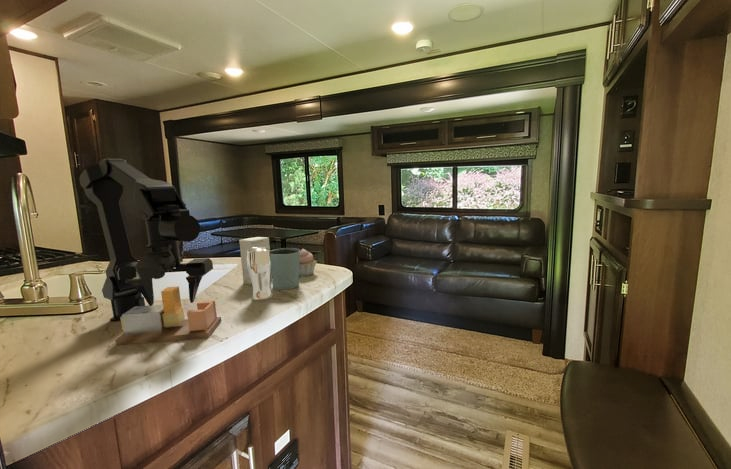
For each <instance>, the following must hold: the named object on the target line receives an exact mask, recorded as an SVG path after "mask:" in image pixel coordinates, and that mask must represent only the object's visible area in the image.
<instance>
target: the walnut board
mask: <svg viewBox="0 0 731 469" xmlns="http://www.w3.org/2000/svg"><path fill="white" fill-rule="evenodd" d="M221 323H222V317H221V316H217V319H216V321H215V322H214V323H213V324H212V326H211V327H210V328H209V329H208V330H207V331H204V330H198V331H189V324H188V318H186V319H185V321H184V322H183V323H182V324H181V325H180V326H175V327H168V328H167V329H165V330H164V331H163V332H162V333H151V334H138V335H125V332H124V333H122V334H121V335H119V337H117V338H116V339H115V340H114V341H115V345H116V346H118V345H119V346H120V345H132V344H133V345H134V344H143V343H144V344H145V343H157V342H159V343H160V342H169V341H170V340H172V341H180V340H181V341H184V340H196V339H208V338H210V336H211V335H212V334H214V332H215V330H216V329H217V328H218V327H219V325H220V324H221Z"/></svg>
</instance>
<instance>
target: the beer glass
mask: <svg viewBox="0 0 731 469" xmlns="http://www.w3.org/2000/svg"><path fill="white" fill-rule="evenodd" d="M270 251H271V247H270V248H268V247H256V248H251V249H248V250H247V266H248V271H249V275H250V279H251V282H252V285H251V286H252V297H251V299H252V300H253V301H266V300H270V299H271V298H273V297H274V294H273V290H272V287H271V286H272V285H271V284H272V280H271V270H272V262H271V255H270Z"/></svg>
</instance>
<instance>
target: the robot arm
mask: <svg viewBox="0 0 731 469" xmlns="http://www.w3.org/2000/svg"><path fill="white" fill-rule="evenodd" d="M79 184H80V186H81V188H83V191H84V193H85V196H86V197H87V198H88V200H90V202H92V203H93V204H95V205H96V207H97V212H98V215H99V219H100V223H101V228H102V231H103V235H104V239H105V243H106V247H107V251H108V255H109V258H110V261H109V263H108V265H107V267H106V269H105V275H106V278H105V281H104V284H103V287H102V289H101V293H102V295H103V296H102V297H103V298H104V299H106V300H107V299H108V300H110V304H111V310H112V315H113V316H112V317H111V318H109V322H113V321H121V319H120V317H122V314H124V313H126V312H127V311H129V310H130V309H132V308H133V307H136V306H146V303H145V301H146V302H147V304H148V306H152V305H155V304H154V302H155V301H154V300H155V298H154V297H155V296H154V286H153V279H154V280H159V279H162V278H163V277H165V275H166V273H179V272H180V273H182V272H186V273H185V274H187V276H186V277H185V279H186V282H187V283H188V295H189V296H188V297H189V302H190V304H194V302H195V300H196V295H197V293H198V290H199V286H200V283H201V281H202V279H203V277H204V276H205V275H207V274H208V273H209V272H211V271H213V269H214V263H213V261H212V260H211V258H209V257H206V258H205V257H204V258H193V259H192V260H190V261H189V262H184V259H183V257H182V256H180V255H181V254H180V248H179V246H180V245H181V242H185V243H189V242H193V241H195V240H196V239H197V238H198V237H199V235H200V232H201V225H200V223H199V220H198V219H197V218H195V216H192V215H191V214H190V210H189V209H187V207H186V206H187V205H186V203H185V201H184V200H183V199H182V198H181V196H180V195H179V192H178V191H177V190H176V187H175V186H174V185H173V184H172V183H170V182H167V181H165V180H164V181H163V180H160V179H159V180H158V179H153V178H150V177H149V176H147V175H146V174H144V173H143V172H141V171H139V170H138V169H137V168H136V167H134V166H133V165H131V164H129V162H128V160H126V159H123V158H104V159H100V161H99V162H98V163H97V164H94V165H91V166H88V167H86V168H85V169H84V170H83V171H82V173H80V175H79ZM124 188H125V189H127V190H128V191H129V192H131V193H132V194H133V202H134V203H135V204H136V205H137V206H138V207H139V208H140V209H141V210H142V211H143V212H144V213H143V214H141V216H140V218H141V220H144V222H145V228H146V234H147V240H148V241H147V242H148V245H146V246H145V255H144V256H142V257H141V258H140V260H138V259H137V258H136V257H135V256H134V255H133V252H132V248H131V245H130V240H129V237H128V233H127V228H126V224H125V220H124V216H123V212H122V208H121V205H120V204H121V203H120V201H121V198H122V196H123V195H124V192H125V189H124ZM182 262H184V263H182Z"/></svg>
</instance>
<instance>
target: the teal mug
mask: <svg viewBox="0 0 731 469" xmlns="http://www.w3.org/2000/svg"><path fill="white" fill-rule="evenodd" d="M300 251H301V250H300V248H294V247H283V248H282V247H281V248H276V249H275V248H274V249H272V250H271V249H270V255H271V262H272V270H271V275H272V280H271V284H272V288H273V289H274V290H276V291H277V290H281V291H285V290H291V289H294V288H297V287H299V285H300V277H299V259H300Z"/></svg>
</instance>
